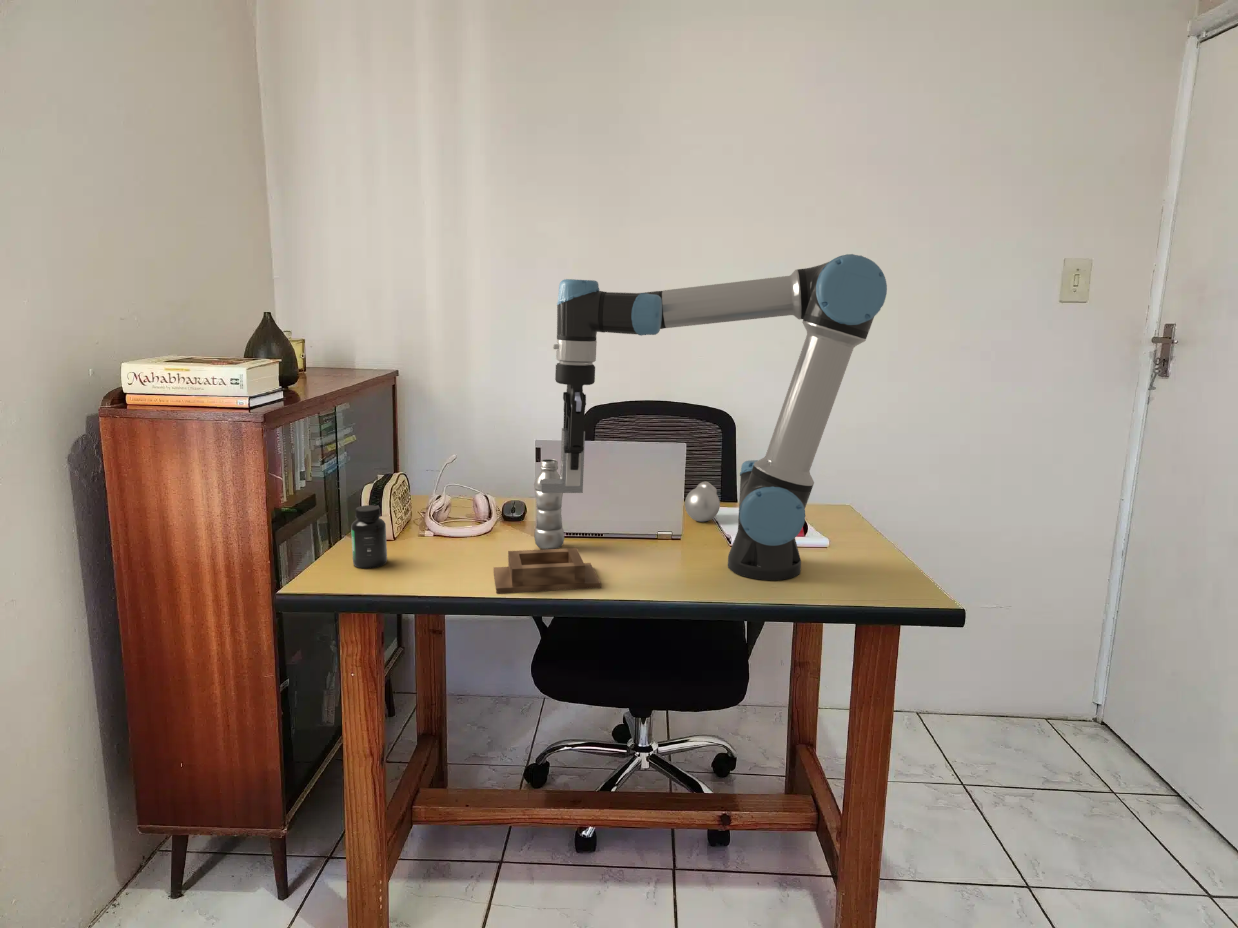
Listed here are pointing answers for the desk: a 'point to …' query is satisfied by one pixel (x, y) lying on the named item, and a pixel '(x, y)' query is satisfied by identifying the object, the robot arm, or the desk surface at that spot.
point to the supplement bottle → (368, 538)
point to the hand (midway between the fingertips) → (571, 482)
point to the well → (544, 571)
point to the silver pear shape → (702, 502)
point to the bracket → (563, 472)
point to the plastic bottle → (548, 509)
